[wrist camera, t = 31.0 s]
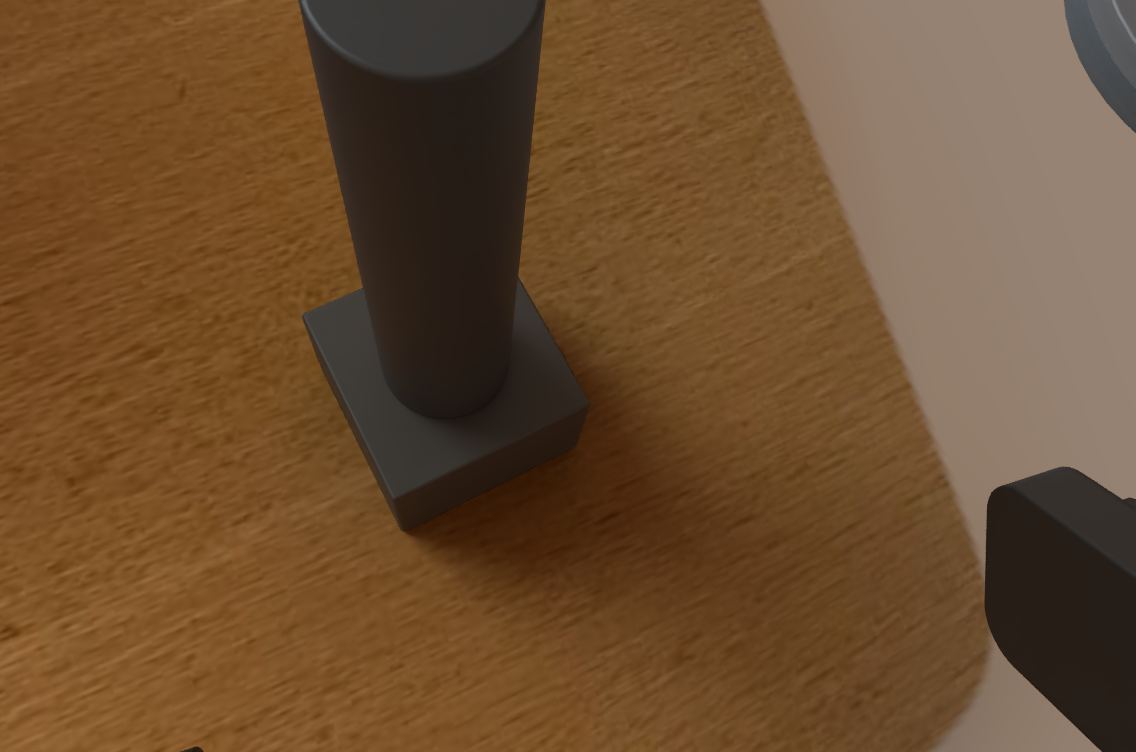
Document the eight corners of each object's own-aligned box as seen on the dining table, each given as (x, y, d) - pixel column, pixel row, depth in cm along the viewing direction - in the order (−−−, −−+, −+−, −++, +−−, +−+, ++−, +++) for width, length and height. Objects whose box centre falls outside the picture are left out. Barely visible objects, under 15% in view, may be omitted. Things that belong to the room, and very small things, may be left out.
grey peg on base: (490, 290, 25) (513, -228, 12) (577, 446, 24) (709, 62, 11) (320, 366, 24) (140, -111, 11) (402, 533, 23) (310, 224, 10)
